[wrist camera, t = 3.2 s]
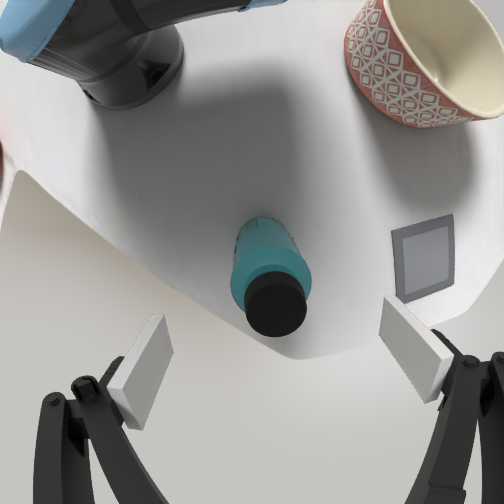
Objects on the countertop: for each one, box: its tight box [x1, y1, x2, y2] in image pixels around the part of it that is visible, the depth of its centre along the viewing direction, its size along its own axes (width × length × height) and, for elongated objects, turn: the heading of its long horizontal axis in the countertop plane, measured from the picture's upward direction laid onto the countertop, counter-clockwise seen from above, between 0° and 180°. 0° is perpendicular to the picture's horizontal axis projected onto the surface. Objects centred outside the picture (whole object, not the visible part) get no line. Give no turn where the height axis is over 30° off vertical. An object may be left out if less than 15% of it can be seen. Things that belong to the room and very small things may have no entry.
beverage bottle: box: [230, 217, 312, 337], centre depth 26 cm, size 6×7×20 cm
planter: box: [344, 0, 504, 128], centre depth 22 cm, size 19×19×15 cm
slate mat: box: [391, 214, 455, 304], centre depth 37 cm, size 12×12×1 cm
